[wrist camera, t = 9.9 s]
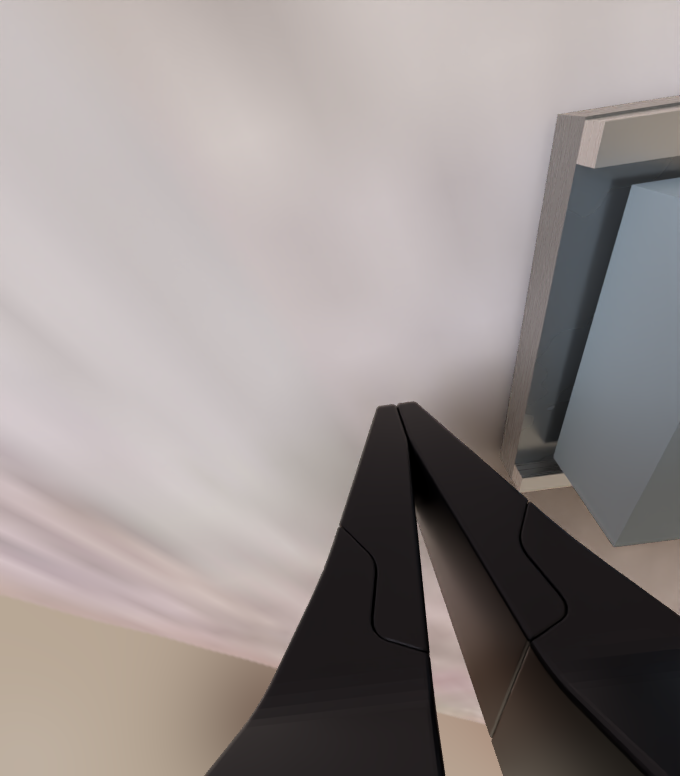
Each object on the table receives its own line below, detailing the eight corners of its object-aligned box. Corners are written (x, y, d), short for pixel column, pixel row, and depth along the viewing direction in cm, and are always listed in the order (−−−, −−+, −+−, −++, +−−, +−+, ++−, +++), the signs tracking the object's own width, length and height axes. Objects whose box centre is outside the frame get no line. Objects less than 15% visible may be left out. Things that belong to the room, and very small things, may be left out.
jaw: (738, 168, 7) (942, 203, 5) (619, 448, 12) (696, 536, 10) (631, 184, 8) (783, 226, 5) (553, 457, 12) (613, 547, 10)
